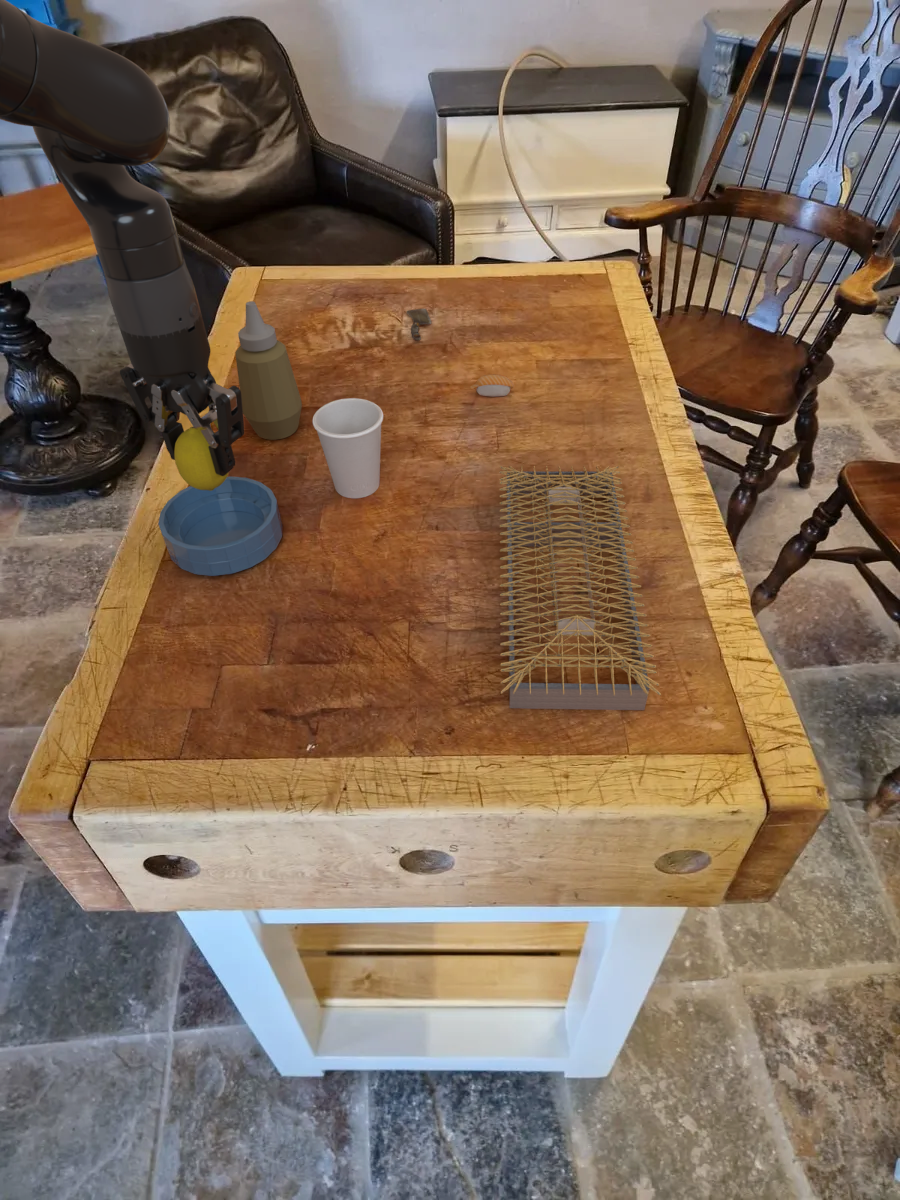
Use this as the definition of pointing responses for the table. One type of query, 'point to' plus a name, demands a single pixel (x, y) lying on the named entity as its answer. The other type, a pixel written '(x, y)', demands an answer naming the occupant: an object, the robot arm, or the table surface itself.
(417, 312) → the grey post
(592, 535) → the rafter model
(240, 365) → the squeeze bottle
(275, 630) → the table surface
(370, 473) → the dixie cup
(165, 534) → the bowl
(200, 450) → the lemon
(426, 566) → the table surface
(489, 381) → the sushi
